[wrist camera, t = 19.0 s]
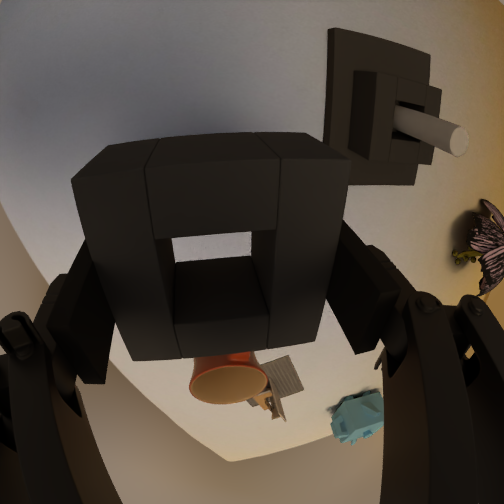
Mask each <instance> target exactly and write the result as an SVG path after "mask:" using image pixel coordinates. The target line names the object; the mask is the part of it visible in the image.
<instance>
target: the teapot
mask: <svg viewBox="0 0 504 504" xmlns="http://www.w3.org/2000/svg"><path fill="white" fill-rule="evenodd" d="M362 396H363V397H359V398H356V399H353V396H348V397H346V398H345V399H344V402H343V403H342V405H341V406H340V407H339V408H337V411H336V412H335V413H334V415H333V416H332V417H331V418H332V420H333V421H332V423H331V424H330V425H331V428H332V431H333V434H334V437H335V438H339V439H340V442H341V443H344V442H348V441H351V442H352V443H351V445H353V444H355V443H356V441H357V438H360V437H363V438H368V437H370V436H372V435H373V433H375V432H377V431H378V430H379V429H380V428H381V427H382V426H383V425H384V400H383V398H382V396H381V394H380V392H377V393H374V394H370V391H367V392H365V393H364V394H363V395H362Z"/></svg>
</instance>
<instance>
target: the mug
mask: <svg viewBox="0 0 504 504" xmlns="http://www.w3.org/2000/svg"><path fill="white" fill-rule="evenodd" d="M267 383H268V377H267V375H266V373H265V371H264V370H263V369H262V367H261V366H260V364H259V363H258V361H257V359H256V357H255V353H254V351H251V352H243V353H235V354H226V355H217V356H207V357H196V358H194V369H193V374H192V377H191V380H190V384H189V390H190V392H191V394H192V395H193V396H194V397H195V398H197V399H198V400H201V401H203V402H207V403H212V404H232V403H238V402H242V401H245V400H248V399H250V398H252V397H254V396H256V395H258V394H259V393H260V392H262V391H263V390H264V389H265V387H266V386H267Z"/></svg>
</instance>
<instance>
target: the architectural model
mask: <svg viewBox="0 0 504 504" xmlns="http://www.w3.org/2000/svg"><path fill="white" fill-rule="evenodd" d="M260 366H261V367H262V369H263V370H264V371H265V373H266V375H267V377H268V383H267V386H266V387H265V389H264V390H263V391H262V392H260V393H259V394H258V395H256V396H254V397H252V398H250V399H248V400H246V401H247V402H248V403H249V404H250V405H251V406H252V407H254V406H258V405H260V406H261V407H262V408H263V409H264V410H267V409H269V410H270V411H271V410H272V411H271V412H272V420H273V419H276V418H279V417H282V419H283V420H284V421H285V422H286V418H285V415H284V411H283V408H282V404H281V401H280V398H283V397H286V396H289V395H292V394H295V393H297V392H300V391H303V390H304V388H303V386H302V384H301V382H300V379H299V377H298V375H297V373H296V371H295V369H294V366H293V364H292V362H291V360H290V358H289V355H288V356H285V357H282V358H280V359H277V360H274V361H271V362H268V363H265V364H263V365H260ZM269 402H271V405H270V404H269Z"/></svg>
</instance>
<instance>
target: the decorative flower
mask: <svg viewBox="0 0 504 504" xmlns="http://www.w3.org/2000/svg"><path fill="white" fill-rule="evenodd" d="M481 201H482V202H483V203H484V204H485V205H486V206H487V208H488V209H489V210H490V211H491V212H492V214H493V216H492V218H493V220H494V221H495V222H496V224H497V225H498V226H499V227H500V228H499V227H498V226H497V225H496V224H495V223H494V222H493V221H491V220H490V219H488V218H487V217H485V216H482V215H480V214H477V213H474V215H473V216H474V219H475V223H476V227H475V226H474V228H473V229H472V230H469V231H468V236H467V241H466V242H467V245H468V249H469V250H471V251H467V252H466V251H463V252H462V253H461V254H459V255H458V251H456V250H454V251H453V252H452V254H453V256H454V257H455V256H457V259H456V260H455V263H456V264H460V263H461V259H459V258H463V260H464V261H466V262H467V261H468V260H469V257H471V262H472V263H474V262H475V261H476V258H475V256H481V257H480V258H479V259H478V261H479V262H480V264H481V267H482V268H481V272H483V278H482V279H481V280H480V282H479V289H480V290H481V291H480V293H479V294H478V295H477V296H478V297H479V296H482V295H484V294H486V293H488V292H489V291H491V290H492V289H494V288H495V287H496V286H497V285H498V284H499V283H500V282H501V281H502V279H503V278H504V234H503V233H504V217H503V215H502V214H501V212H500V211H499V210H498V209H497V208H496V207H495V206H494V205H493V204H492V203H490V202H489V201H487V200H484V199H481ZM472 213H473V212H472ZM501 230H502V231H503V232H502V231H501Z"/></svg>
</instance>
